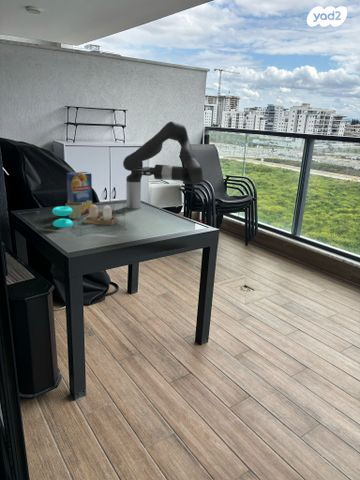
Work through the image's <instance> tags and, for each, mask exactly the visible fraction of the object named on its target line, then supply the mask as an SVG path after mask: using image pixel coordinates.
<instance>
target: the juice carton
mask: <svg viewBox="0 0 360 480" xmlns="http://www.w3.org/2000/svg"><path fill="white" fill-rule="evenodd" d="M92 184H93V183H92V173H91V172H87V171H77V172H66V190H67V191H66V192H67V203H70V202H79V203H83V205H82V209H81V215H82V214H86V213H87V214H89V207H90V205H93V185H92Z"/></svg>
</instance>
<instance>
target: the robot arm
mask: <svg viewBox="0 0 360 480" xmlns="http://www.w3.org/2000/svg"><path fill="white" fill-rule="evenodd" d="M167 140H172V141H176V142H177V143H179V145H180V152H179V156H180V159H181V161H182V164H183V166H184V167H183V166H176V165H168V164H155V165H154V167H151V166H144V163H143V162H144V161H147V160H150V159H153V158H154V157H155V156H157V155H158V154H159V153H161V151H162V148H163V144H164V142H166V141H167ZM122 163H123V164H122V166H123V168H124V170H126V171H129V172H130V174H128V175H127V176H126V180H125V181H126V184H125V185H126V196H125V198H126V208H127V209H132V210H137V209H141V208H142V207H141V206H142V205H141V204H142V203H141V202H142V201H141V200H142V194H141V193H142V190H141V189H142V177H143V176H147V177H151V176H153V177H154V179H155V180H162V181H179V182H180V181H181V182H184V183H186V184H190V185H198V184H201V183H202V182H203V178H204V177H203V169H202V166H201V165H200V163H199V161H198V160H197V158H196V156H195V154H194V151H193V150H192V146H191V142H190V139H189V135H188V131H187V129H186V126H185V125H184V124H181V123H179V122H176V121H168V123H166V124H165V125H164V126H163V127H162V128H161V129H160V130H159V131H158V132H157V133H156V134H155V135H154V136H153V137H151V138H150V139H148V140H147V141H146V142H144V144H142V145H141V146H140V147H138V148H137V149H136V150H134V151H133V152H132V153H130V154H128V155H127V156H126V157H125V158H124V159H123V162H122ZM185 169H187V170H185Z"/></svg>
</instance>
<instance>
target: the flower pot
mask: <svg viewBox="0 0 360 480" xmlns="http://www.w3.org/2000/svg"><path fill="white" fill-rule="evenodd" d="M82 205H83V203H79V202H70V203H68V202H66V203H65V206H66V207H70V208H72V213H71V214H70V215H68V219H74V220H75V219H80V218H81V217H82V216H81V215H82V214H81V209H82Z"/></svg>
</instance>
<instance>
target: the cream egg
mask: <svg viewBox="0 0 360 480" xmlns="http://www.w3.org/2000/svg"><path fill="white" fill-rule="evenodd" d="M112 214H113V213H112V207H111V206H110V205H105V206H103V207H102V216H103V220H106V221H112V217H113V215H112Z"/></svg>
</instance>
